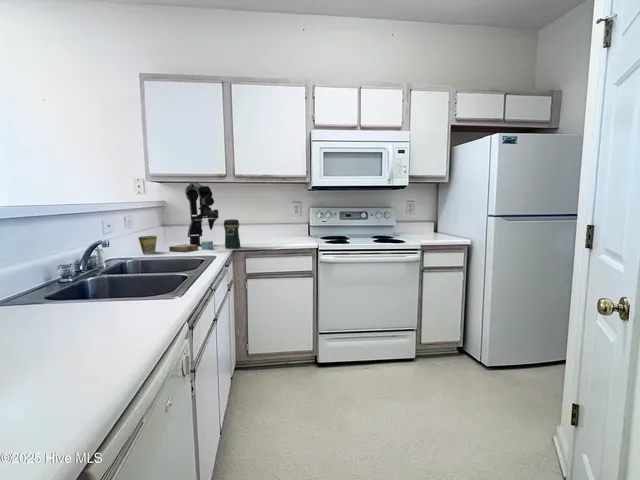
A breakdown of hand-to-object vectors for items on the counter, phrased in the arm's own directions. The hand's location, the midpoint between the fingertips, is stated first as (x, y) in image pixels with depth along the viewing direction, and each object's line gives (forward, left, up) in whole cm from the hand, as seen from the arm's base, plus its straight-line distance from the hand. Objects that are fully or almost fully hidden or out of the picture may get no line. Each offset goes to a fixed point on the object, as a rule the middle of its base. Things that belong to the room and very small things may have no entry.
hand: (205, 230), depth 225 cm
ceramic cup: (+23, -25, -12) cm, 36 cm away
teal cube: (0, 0, -12) cm, 12 cm away
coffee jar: (-9, +13, -12) cm, 20 cm away
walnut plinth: (+10, -10, -12) cm, 18 cm away
